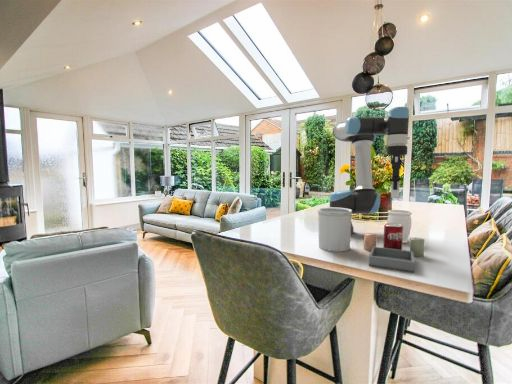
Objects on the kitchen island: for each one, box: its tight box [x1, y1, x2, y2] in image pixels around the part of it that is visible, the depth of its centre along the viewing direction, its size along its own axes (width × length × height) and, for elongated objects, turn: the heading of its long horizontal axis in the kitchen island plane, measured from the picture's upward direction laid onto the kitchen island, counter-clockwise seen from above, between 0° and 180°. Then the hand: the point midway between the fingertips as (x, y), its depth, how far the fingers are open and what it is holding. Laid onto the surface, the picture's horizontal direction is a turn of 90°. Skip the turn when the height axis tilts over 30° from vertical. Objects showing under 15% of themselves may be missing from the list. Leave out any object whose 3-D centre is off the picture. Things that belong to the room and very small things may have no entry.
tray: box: [368, 246, 415, 274], centre depth 105 cm, size 15×15×4 cm
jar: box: [386, 209, 413, 244], centre depth 137 cm, size 11×10×15 cm
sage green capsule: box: [409, 237, 426, 258], centre depth 114 cm, size 5×5×7 cm
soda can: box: [382, 223, 404, 250], centre depth 118 cm, size 7×7×12 cm
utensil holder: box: [317, 206, 353, 253], centre depth 126 cm, size 15×15×18 cm
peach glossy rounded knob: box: [363, 232, 378, 252], centre depth 123 cm, size 5×5×7 cm
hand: (395, 196), depth 117 cm, fingers open, 13 cm apart
